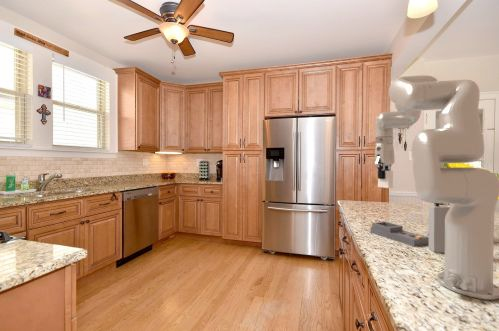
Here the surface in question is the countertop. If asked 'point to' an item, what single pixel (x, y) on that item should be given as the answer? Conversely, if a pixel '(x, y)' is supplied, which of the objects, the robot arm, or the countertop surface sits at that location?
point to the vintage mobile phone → (437, 228)
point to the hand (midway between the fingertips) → (384, 178)
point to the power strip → (398, 233)
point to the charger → (386, 180)
